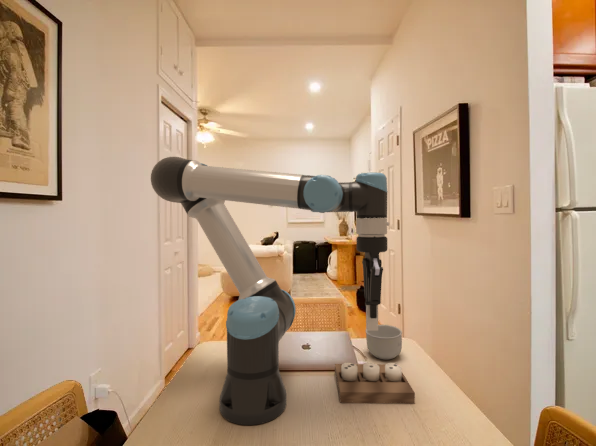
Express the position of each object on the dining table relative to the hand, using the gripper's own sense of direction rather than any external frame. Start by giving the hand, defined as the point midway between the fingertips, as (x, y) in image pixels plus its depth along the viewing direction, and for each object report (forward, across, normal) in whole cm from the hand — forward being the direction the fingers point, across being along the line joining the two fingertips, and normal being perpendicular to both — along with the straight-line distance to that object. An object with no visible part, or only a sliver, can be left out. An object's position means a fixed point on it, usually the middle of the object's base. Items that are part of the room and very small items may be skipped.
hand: (372, 329), depth 81 cm
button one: (+12, 0, 0) cm, 12 cm away
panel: (+15, 0, 0) cm, 15 cm away
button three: (+12, 0, +6) cm, 13 cm away
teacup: (+15, +20, -7) cm, 26 cm away
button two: (+12, 0, -5) cm, 13 cm away
